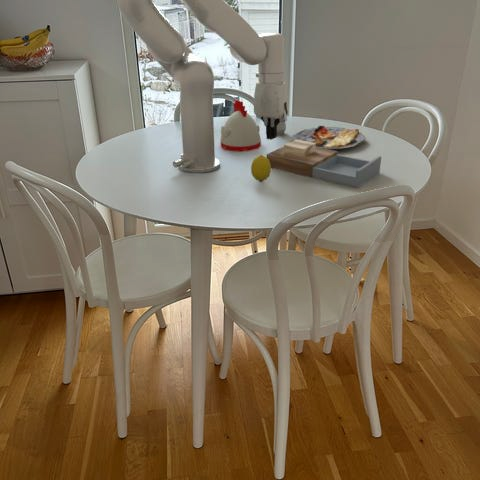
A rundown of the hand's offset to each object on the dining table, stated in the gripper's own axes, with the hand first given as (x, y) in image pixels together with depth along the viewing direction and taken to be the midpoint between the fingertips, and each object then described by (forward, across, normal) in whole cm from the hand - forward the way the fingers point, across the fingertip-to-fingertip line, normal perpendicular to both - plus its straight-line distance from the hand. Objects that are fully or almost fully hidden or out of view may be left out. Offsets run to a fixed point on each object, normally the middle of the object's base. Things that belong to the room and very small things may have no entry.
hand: (271, 138), depth 156 cm
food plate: (+8, +7, +26) cm, 28 cm away
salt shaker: (+7, -13, +24) cm, 29 cm away
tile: (+3, +11, -1) cm, 11 cm away
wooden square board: (+7, +12, -1) cm, 13 cm away
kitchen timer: (+7, -16, +5) cm, 18 cm away
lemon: (+6, +10, -20) cm, 23 cm away
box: (+7, +27, -1) cm, 27 cm away
